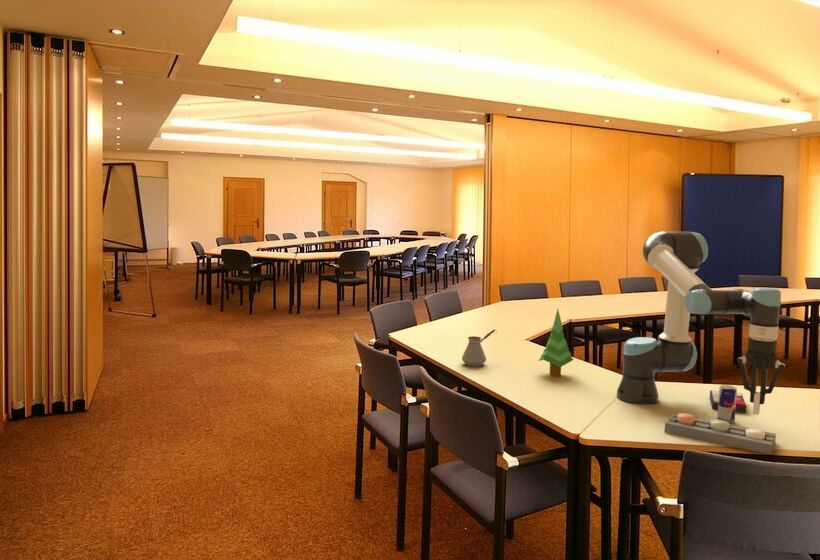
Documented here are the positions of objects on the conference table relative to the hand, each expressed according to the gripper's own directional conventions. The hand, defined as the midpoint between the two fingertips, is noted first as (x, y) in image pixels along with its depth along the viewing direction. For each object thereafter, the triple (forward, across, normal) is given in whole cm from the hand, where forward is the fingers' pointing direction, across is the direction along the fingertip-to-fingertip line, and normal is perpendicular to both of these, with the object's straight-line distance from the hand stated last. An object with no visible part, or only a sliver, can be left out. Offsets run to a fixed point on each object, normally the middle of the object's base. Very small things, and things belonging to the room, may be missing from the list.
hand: (756, 413), depth 185 cm
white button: (+9, 0, 0) cm, 9 cm away
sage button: (+8, -10, 0) cm, 13 cm away
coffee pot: (+12, -118, +35) cm, 124 cm away
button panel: (+10, -10, 0) cm, 14 cm away
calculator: (+11, -14, +38) cm, 42 cm away
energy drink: (+11, -11, +19) cm, 24 cm away
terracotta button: (+8, -20, 0) cm, 21 cm away
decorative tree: (+11, -82, +38) cm, 91 cm away
